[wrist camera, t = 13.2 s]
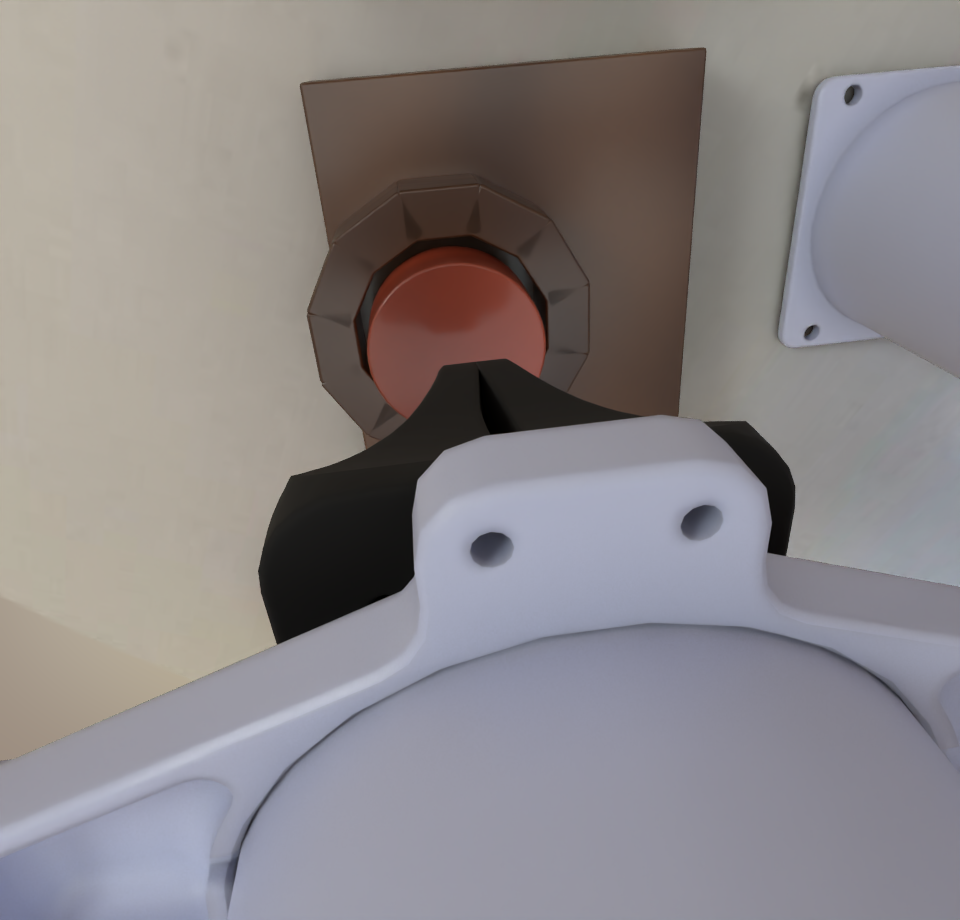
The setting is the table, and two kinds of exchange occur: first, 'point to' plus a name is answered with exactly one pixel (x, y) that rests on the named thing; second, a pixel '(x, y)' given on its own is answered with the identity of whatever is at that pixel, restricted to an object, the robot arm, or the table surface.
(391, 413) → the button box
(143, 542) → the table surface
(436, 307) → the button
